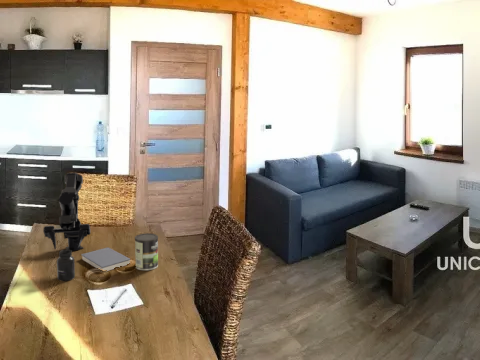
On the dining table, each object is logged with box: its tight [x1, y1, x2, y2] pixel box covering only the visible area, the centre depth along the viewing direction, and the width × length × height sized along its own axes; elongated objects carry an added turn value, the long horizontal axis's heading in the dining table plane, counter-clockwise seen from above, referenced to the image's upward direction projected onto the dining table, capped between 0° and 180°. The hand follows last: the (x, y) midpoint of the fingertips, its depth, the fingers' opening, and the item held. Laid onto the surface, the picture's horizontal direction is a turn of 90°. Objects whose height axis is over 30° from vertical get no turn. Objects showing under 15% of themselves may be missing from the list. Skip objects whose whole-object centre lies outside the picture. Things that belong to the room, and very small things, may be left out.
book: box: [80, 246, 131, 272], centre depth 195 cm, size 20×14×3 cm
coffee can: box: [134, 233, 159, 271], centre depth 191 cm, size 10×10×14 cm
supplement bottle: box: [56, 249, 76, 282], centre depth 176 cm, size 7×7×12 cm
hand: (66, 248), depth 180 cm, fingers open, 9 cm apart
